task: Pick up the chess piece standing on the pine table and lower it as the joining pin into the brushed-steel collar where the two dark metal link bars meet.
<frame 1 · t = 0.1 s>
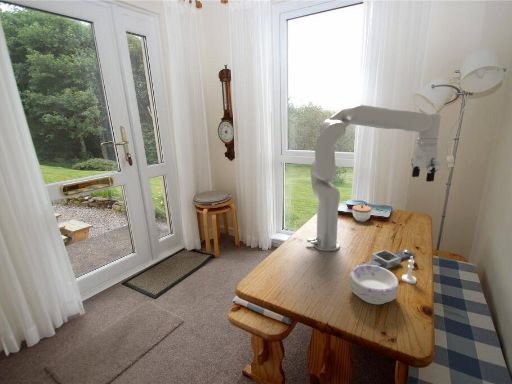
hand: (422, 178, 120), 31 cm above the table, fingers open, 9 cm apart
lidded jar: (361, 220, 156), on the table
chess piece: (408, 280, 98), on the table
paper bowls: (372, 296, 91), on the table
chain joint: (385, 261, 110), on the table
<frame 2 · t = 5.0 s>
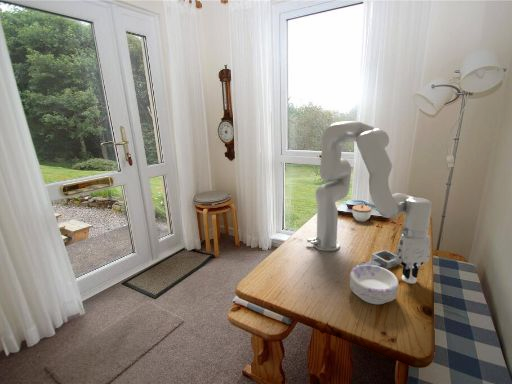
hand: (409, 275, 97), 2 cm above the table, fingers closed on chess piece
chess piece: (408, 280, 98), on the table, touching gripper
everything else where it was.
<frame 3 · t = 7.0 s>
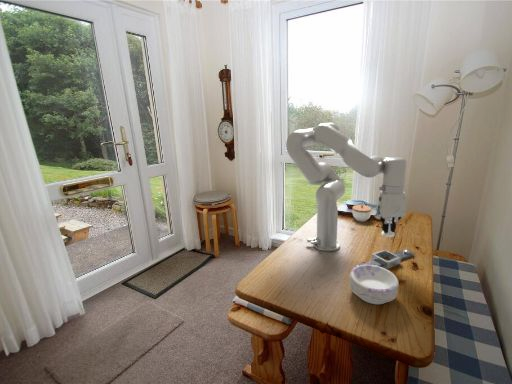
hand: (388, 231, 106), 14 cm above the table, fingers closed on chess piece
chess piece: (387, 235, 107), point 13 cm above the table, touching gripper
everything else where it was.
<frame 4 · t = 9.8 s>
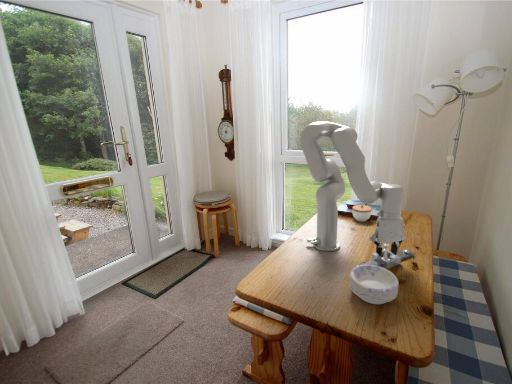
hand: (386, 253, 109), 4 cm above the table, fingers open, 5 cm apart
chess piece: (384, 262, 110), resting in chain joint
everything else where it was.
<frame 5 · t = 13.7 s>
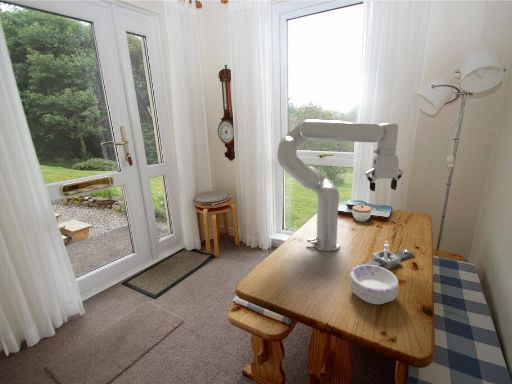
hand: (382, 189, 116), 28 cm above the table, fingers open, 9 cm apart
nothing on the table moved.
at the end: chess piece 0.2 cm off-centre on the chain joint, point 0.0 cm above the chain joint's base; chess piece tilted 0°; the gripper is holding nothing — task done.
